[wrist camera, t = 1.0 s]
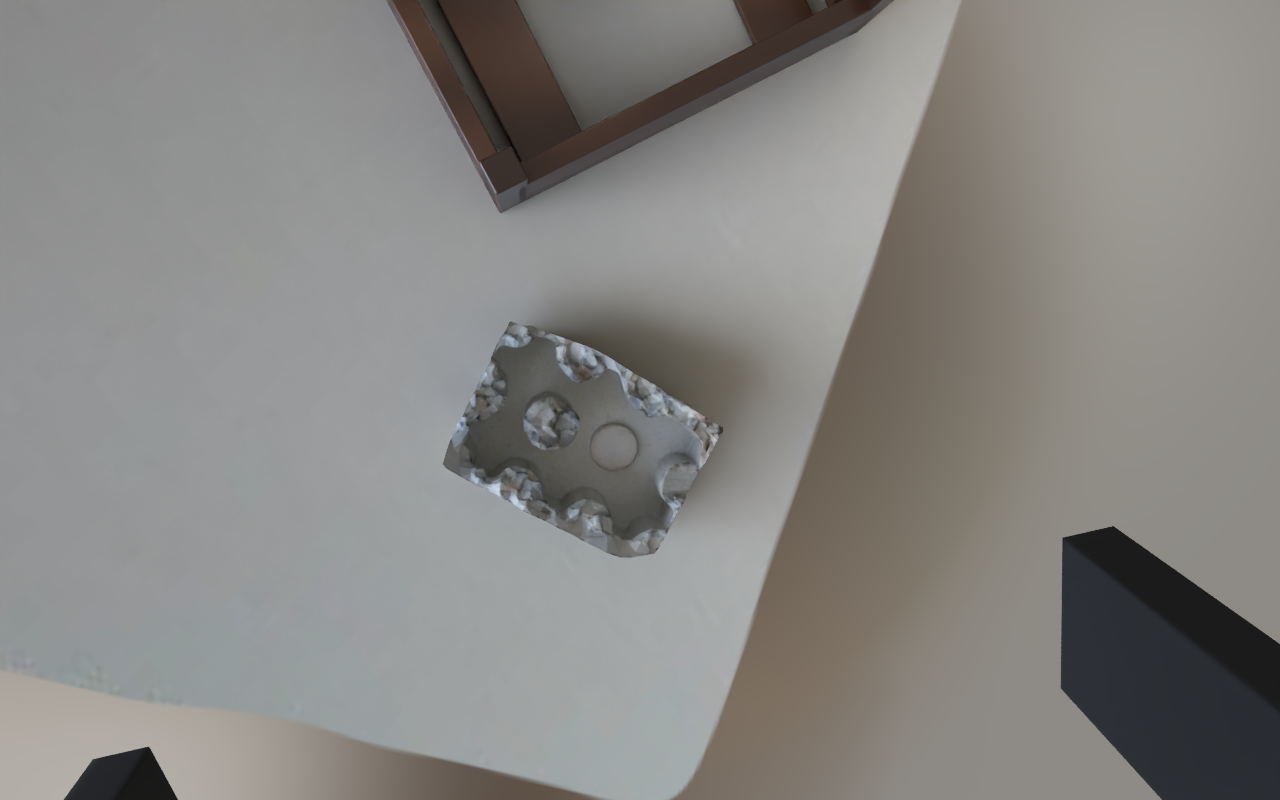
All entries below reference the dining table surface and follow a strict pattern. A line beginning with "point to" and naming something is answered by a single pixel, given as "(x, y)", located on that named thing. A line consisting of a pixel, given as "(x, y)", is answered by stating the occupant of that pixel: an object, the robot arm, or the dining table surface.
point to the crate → (539, 110)
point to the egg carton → (580, 442)
